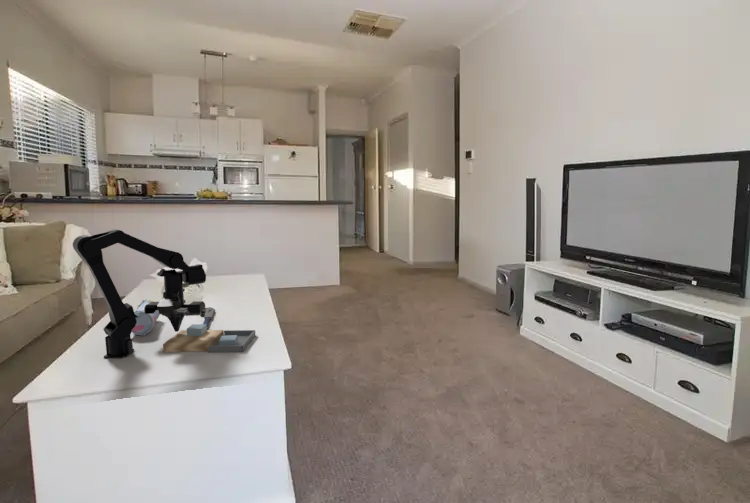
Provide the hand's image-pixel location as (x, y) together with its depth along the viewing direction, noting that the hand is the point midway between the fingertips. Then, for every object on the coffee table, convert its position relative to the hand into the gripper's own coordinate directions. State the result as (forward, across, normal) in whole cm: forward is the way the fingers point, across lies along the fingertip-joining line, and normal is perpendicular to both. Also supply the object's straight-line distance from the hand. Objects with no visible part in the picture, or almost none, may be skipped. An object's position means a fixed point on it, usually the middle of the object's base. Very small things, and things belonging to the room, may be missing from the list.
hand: (177, 331), depth 151 cm
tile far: (+1, +7, 0) cm, 7 cm away
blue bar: (+4, -2, +22) cm, 22 cm away
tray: (+3, +20, -4) cm, 21 cm away
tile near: (+3, +20, -6) cm, 21 cm away
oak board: (+3, +7, -4) cm, 9 cm away
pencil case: (+4, -18, +15) cm, 24 cm away
